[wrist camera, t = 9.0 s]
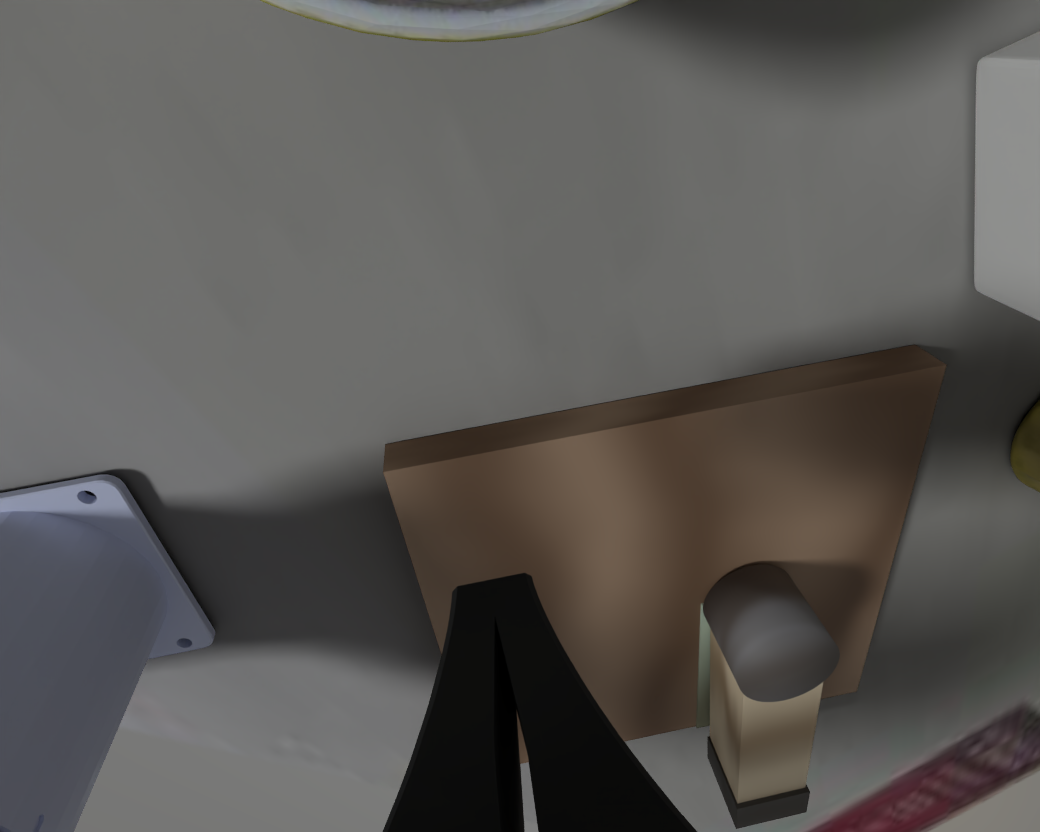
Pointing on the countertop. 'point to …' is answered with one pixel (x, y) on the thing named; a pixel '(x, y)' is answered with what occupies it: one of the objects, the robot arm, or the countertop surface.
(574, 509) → the wooden board
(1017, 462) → the vase
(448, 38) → the ceramic cup
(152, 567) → the robot arm
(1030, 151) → the milk carton
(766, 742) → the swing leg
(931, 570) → the countertop surface
